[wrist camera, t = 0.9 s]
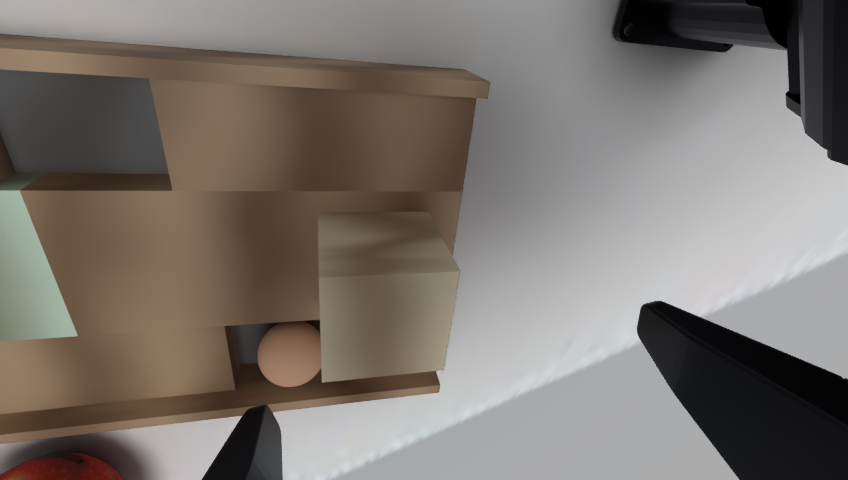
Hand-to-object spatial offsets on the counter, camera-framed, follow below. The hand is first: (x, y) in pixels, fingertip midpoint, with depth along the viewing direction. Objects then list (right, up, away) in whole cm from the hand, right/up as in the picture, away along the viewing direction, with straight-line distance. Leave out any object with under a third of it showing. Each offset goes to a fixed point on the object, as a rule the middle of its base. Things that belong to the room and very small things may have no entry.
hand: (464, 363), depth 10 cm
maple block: (-3, +2, +10) cm, 11 cm away
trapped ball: (-8, -2, +14) cm, 16 cm away
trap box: (-11, +3, +10) cm, 15 cm away
